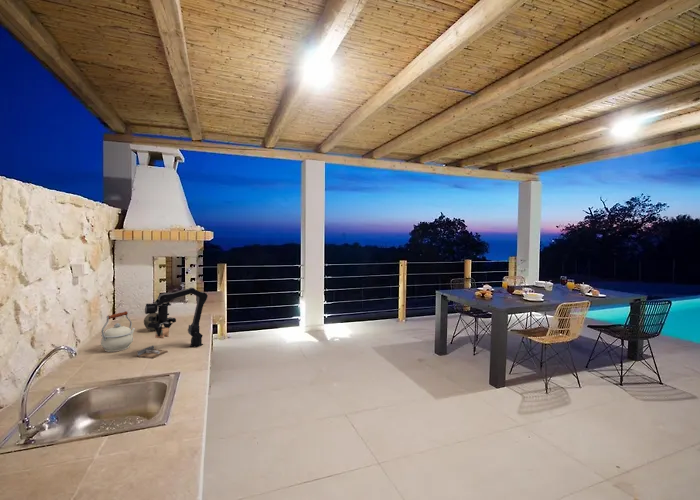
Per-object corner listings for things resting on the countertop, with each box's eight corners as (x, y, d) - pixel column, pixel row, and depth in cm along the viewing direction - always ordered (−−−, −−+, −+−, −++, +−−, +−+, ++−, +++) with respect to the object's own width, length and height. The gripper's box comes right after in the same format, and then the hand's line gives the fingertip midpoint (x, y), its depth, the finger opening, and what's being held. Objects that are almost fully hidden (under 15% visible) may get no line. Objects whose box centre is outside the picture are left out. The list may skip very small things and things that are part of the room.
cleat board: (167, 352, 218) (167, 347, 218) (153, 358, 205) (153, 353, 205) (152, 350, 220) (152, 345, 220) (137, 356, 208) (137, 351, 208)
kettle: (113, 355, 209) (113, 317, 209) (91, 352, 213) (91, 315, 212) (145, 343, 234) (145, 310, 233) (124, 341, 237) (124, 308, 237)
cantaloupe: (145, 329, 269) (145, 311, 269) (164, 327, 275) (164, 310, 274) (142, 333, 256) (142, 315, 256) (162, 332, 262) (162, 314, 262)
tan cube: (168, 336, 218) (168, 328, 218) (162, 338, 213) (163, 329, 213) (161, 335, 219) (161, 327, 219) (155, 337, 214) (155, 329, 214)
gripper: (163, 308, 227) (162, 330, 227) (141, 314, 209) (140, 337, 209) (176, 310, 225) (176, 331, 225) (155, 315, 206) (154, 339, 206)
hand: (162, 335), depth 216 cm, fingers closed on tan cube, 5 cm apart
